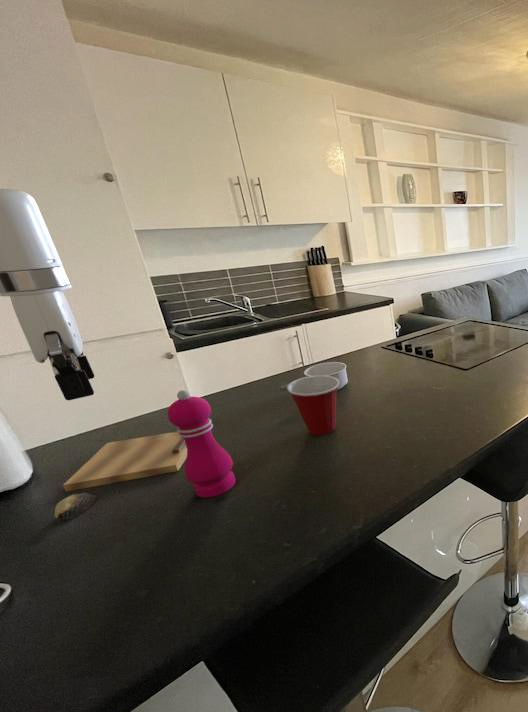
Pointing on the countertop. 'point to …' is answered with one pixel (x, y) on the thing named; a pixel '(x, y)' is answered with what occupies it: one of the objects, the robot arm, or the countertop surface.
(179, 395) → the pepper mill
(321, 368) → the saucepan
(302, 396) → the plastic cup
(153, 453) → the serving board
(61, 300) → the robot arm
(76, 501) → the brown rounded domed piece
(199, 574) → the countertop surface
